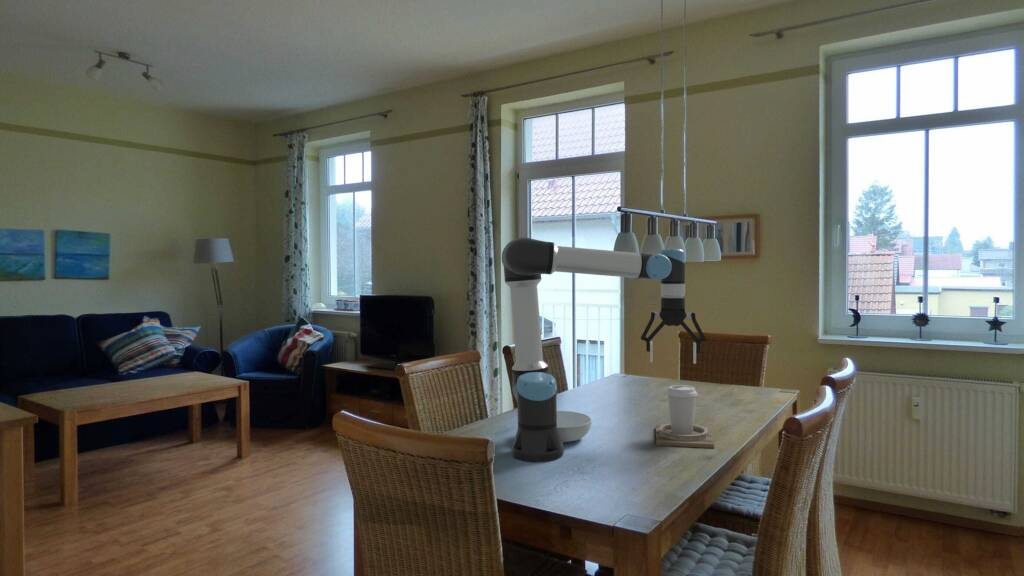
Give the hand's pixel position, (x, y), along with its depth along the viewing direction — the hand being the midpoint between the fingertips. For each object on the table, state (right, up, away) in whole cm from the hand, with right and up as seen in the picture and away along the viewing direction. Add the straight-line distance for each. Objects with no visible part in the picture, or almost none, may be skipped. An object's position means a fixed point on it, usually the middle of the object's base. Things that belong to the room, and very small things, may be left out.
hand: (672, 362), depth 196 cm
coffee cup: (+3, -23, -1) cm, 23 cm away
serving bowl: (-37, -25, 0) cm, 44 cm away
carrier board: (+3, -24, -1) cm, 24 cm away
